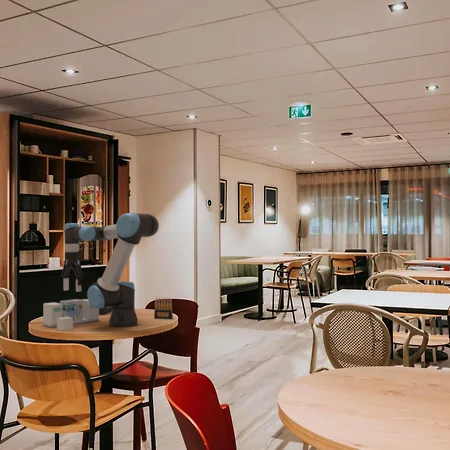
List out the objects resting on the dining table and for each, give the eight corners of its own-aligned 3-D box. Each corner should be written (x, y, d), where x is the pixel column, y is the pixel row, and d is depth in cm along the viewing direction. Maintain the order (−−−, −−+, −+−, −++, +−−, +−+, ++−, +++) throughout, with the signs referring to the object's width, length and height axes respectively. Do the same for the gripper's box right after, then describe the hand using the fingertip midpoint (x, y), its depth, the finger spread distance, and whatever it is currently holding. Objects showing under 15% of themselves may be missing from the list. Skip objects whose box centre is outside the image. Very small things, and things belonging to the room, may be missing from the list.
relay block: (72, 329, 260) (73, 317, 260) (63, 331, 255) (63, 319, 256) (66, 328, 263) (66, 316, 263) (56, 330, 258) (56, 318, 258)
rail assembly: (99, 321, 285) (99, 300, 285) (51, 327, 265) (51, 305, 265) (90, 319, 292) (90, 298, 292) (42, 325, 272) (43, 303, 272)
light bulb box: (66, 322, 272) (66, 301, 273) (59, 320, 277) (59, 300, 277) (83, 319, 280) (83, 299, 281) (76, 318, 285) (76, 298, 285)
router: (113, 310, 324) (113, 279, 325) (103, 315, 306) (103, 281, 307) (101, 310, 325) (101, 279, 326) (90, 315, 307) (90, 281, 308)
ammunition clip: (154, 318, 293) (154, 297, 293) (155, 318, 295) (155, 297, 295) (171, 319, 290) (171, 298, 290) (172, 318, 292) (172, 297, 292)
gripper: (90, 251, 273) (90, 291, 272) (67, 251, 291) (67, 289, 290) (77, 251, 268) (77, 292, 267) (54, 251, 285) (54, 290, 285)
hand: (72, 290), depth 278 cm, fingers open, 13 cm apart
